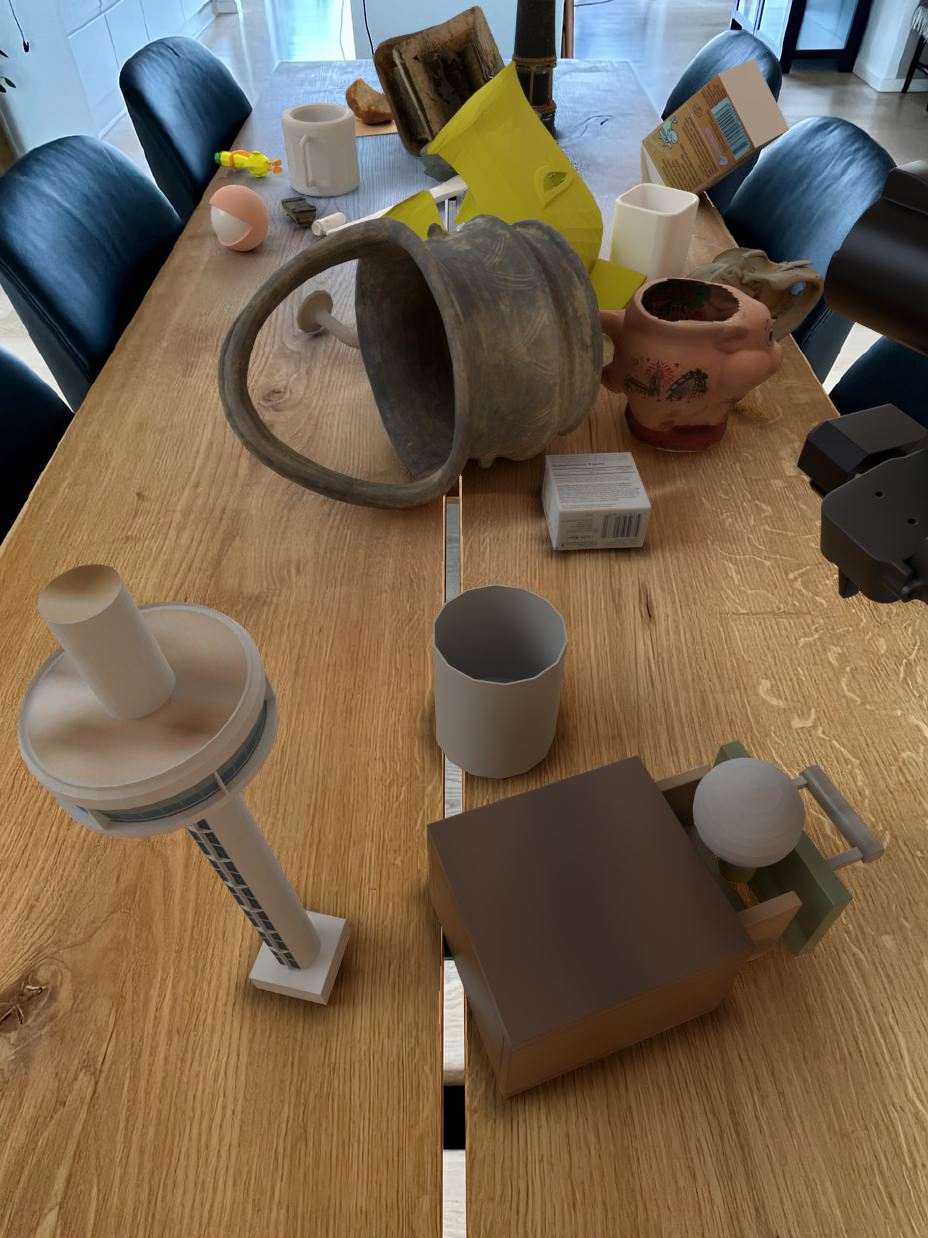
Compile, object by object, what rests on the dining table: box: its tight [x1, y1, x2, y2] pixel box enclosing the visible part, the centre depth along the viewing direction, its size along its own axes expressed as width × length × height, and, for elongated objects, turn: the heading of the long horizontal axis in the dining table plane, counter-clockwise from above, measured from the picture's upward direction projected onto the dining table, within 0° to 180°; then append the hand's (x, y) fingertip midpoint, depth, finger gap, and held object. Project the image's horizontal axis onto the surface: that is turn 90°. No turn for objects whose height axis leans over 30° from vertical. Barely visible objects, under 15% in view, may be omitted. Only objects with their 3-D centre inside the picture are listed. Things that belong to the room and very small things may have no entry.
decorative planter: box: [599, 277, 784, 453], centre depth 79 cm, size 20×12×14 cm, turn 87°
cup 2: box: [608, 183, 700, 285], centre depth 92 cm, size 7×7×15 cm
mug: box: [280, 102, 361, 197], centre depth 125 cm, size 14×11×10 cm
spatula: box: [325, 175, 468, 236], centre depth 121 cm, size 28×4×2 cm, turn 137°
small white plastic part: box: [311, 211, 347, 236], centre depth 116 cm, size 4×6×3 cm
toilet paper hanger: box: [295, 289, 360, 350], centre depth 99 cm, size 25×8×5 cm, turn 137°
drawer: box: [654, 739, 886, 963], centre depth 47 cm, size 16×10×7 cm, turn 111°
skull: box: [685, 247, 825, 343], centre depth 91 cm, size 12×18×12 cm
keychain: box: [732, 403, 766, 420], centre depth 86 cm, size 8×1×1 cm, turn 43°
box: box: [540, 451, 653, 551], centre depth 72 cm, size 8×4×9 cm
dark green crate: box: [280, 196, 318, 228], centre depth 119 cm, size 4×8×2 cm, turn 25°
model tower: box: [17, 563, 352, 1006], centre depth 36 cm, size 8×8×30 cm
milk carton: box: [639, 58, 790, 196], centre depth 122 cm, size 11×11×19 cm
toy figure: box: [214, 149, 283, 179], centre depth 132 cm, size 7×4×12 cm
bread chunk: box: [344, 77, 398, 137], centre depth 149 cm, size 15×11×11 cm
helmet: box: [380, 60, 648, 310], centre depth 90 cm, size 16×23×30 cm
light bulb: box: [693, 757, 806, 884], centre depth 45 cm, size 5×6×10 cm
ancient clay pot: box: [216, 214, 604, 511], centre depth 72 cm, size 22×23×30 cm
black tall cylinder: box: [511, 0, 558, 139], centre depth 136 cm, size 9×9×30 cm
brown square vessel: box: [371, 5, 506, 159], centre depth 138 cm, size 22×24×20 cm
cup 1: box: [432, 583, 569, 780], centre depth 55 cm, size 8×8×10 cm
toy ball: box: [208, 184, 270, 252], centre depth 111 cm, size 8×8×8 cm
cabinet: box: [425, 754, 756, 1100], centre depth 45 cm, size 13×12×9 cm
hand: (902, 649), depth 46 cm, fingers open, 9 cm apart
